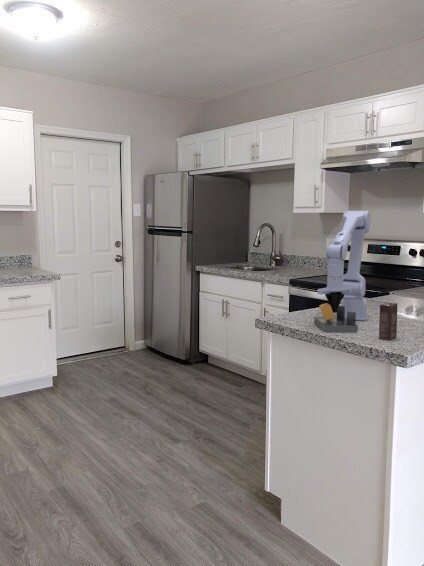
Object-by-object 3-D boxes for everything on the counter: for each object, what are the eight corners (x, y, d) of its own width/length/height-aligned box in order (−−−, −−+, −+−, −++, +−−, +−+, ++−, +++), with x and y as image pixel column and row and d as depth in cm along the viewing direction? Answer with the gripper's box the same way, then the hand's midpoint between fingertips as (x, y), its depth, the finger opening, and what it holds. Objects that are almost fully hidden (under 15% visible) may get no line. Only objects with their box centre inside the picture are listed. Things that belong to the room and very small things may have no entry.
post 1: (343, 316, 192) (343, 305, 191) (345, 318, 189) (346, 307, 188) (335, 316, 191) (336, 305, 191) (338, 318, 188) (338, 307, 188)
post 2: (353, 323, 180) (354, 311, 179) (356, 325, 177) (357, 313, 176) (345, 323, 179) (346, 311, 179) (348, 325, 177) (348, 313, 176)
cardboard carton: (331, 317, 186) (326, 302, 185) (336, 320, 181) (330, 305, 180) (324, 320, 186) (319, 305, 185) (328, 323, 181) (323, 308, 180)
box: (384, 335, 173) (385, 302, 171) (396, 337, 170) (398, 303, 168) (377, 338, 168) (379, 304, 167) (390, 340, 165) (392, 305, 164)
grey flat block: (344, 323, 192) (344, 316, 192) (357, 332, 177) (357, 325, 177) (314, 323, 191) (314, 316, 191) (325, 332, 176) (325, 325, 176)
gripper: (343, 274, 188) (341, 308, 190) (312, 276, 182) (311, 311, 184) (356, 276, 182) (354, 312, 184) (325, 278, 175) (323, 315, 177)
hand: (333, 312), depth 183 cm, fingers closed
